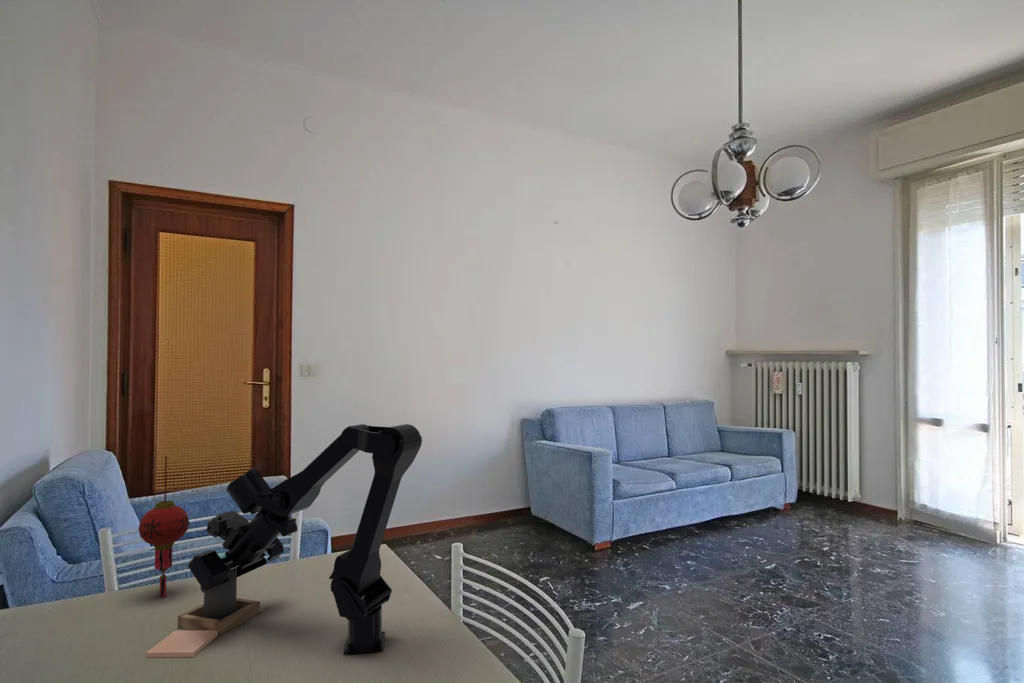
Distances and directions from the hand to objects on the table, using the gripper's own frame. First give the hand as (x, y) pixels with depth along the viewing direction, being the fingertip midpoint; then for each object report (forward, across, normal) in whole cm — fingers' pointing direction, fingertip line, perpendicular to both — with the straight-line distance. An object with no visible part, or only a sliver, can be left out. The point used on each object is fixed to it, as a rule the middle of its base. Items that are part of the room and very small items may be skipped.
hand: (215, 584), depth 109 cm
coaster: (+2, +10, +7) cm, 12 cm away
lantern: (+19, -5, -9) cm, 22 cm away
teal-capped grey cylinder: (+4, 0, +6) cm, 7 cm away
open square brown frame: (+4, 0, +6) cm, 7 cm away
